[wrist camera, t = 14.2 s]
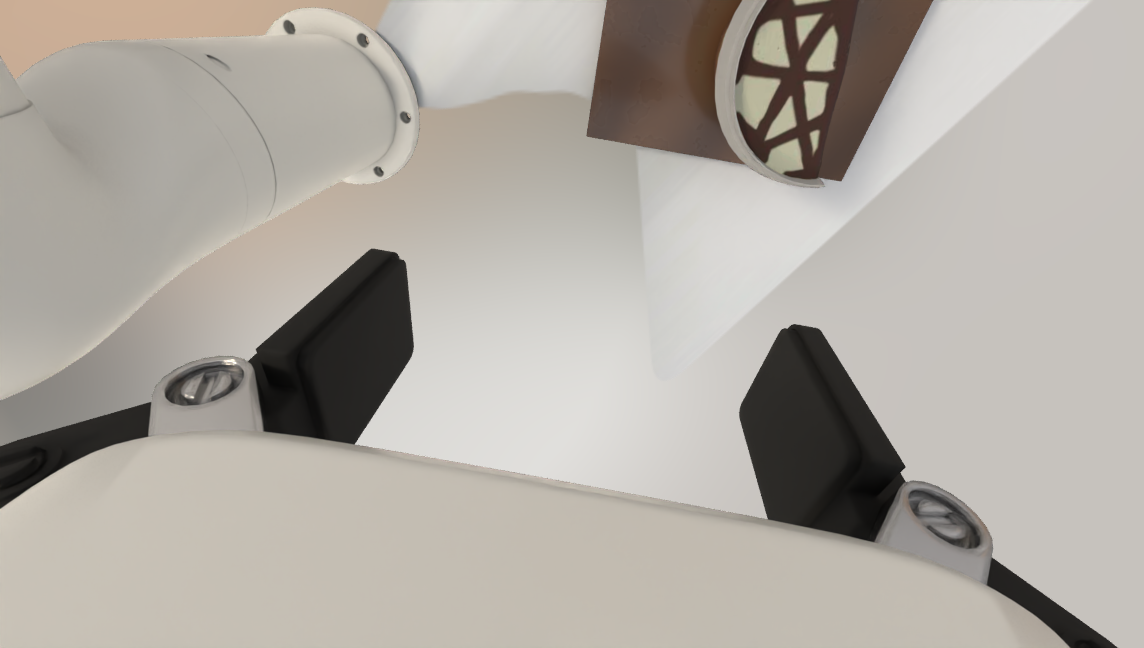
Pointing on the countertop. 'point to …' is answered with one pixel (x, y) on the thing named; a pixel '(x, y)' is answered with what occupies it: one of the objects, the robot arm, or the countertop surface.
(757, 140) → the food container
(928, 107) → the countertop surface
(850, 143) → the cutting board
